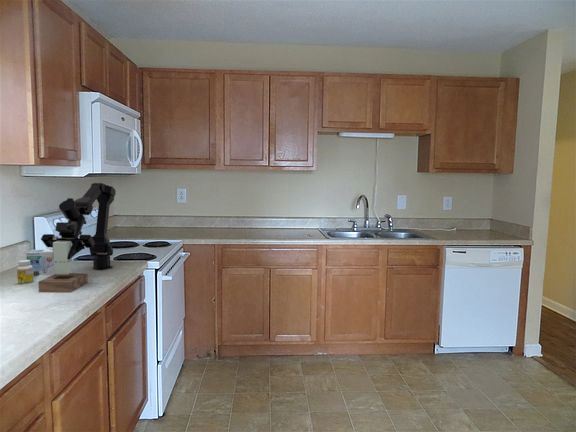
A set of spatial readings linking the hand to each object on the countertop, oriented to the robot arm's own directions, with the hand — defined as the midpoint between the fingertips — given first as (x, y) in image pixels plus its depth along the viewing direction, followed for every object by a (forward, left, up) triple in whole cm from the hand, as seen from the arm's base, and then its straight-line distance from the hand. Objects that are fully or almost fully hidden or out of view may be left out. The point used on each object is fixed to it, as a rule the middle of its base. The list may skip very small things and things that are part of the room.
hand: (61, 259), depth 157 cm
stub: (-1, -1, -6) cm, 6 cm away
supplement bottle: (+4, -20, -12) cm, 24 cm away
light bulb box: (-8, -30, -12) cm, 33 cm away
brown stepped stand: (-1, -1, -12) cm, 12 cm away
